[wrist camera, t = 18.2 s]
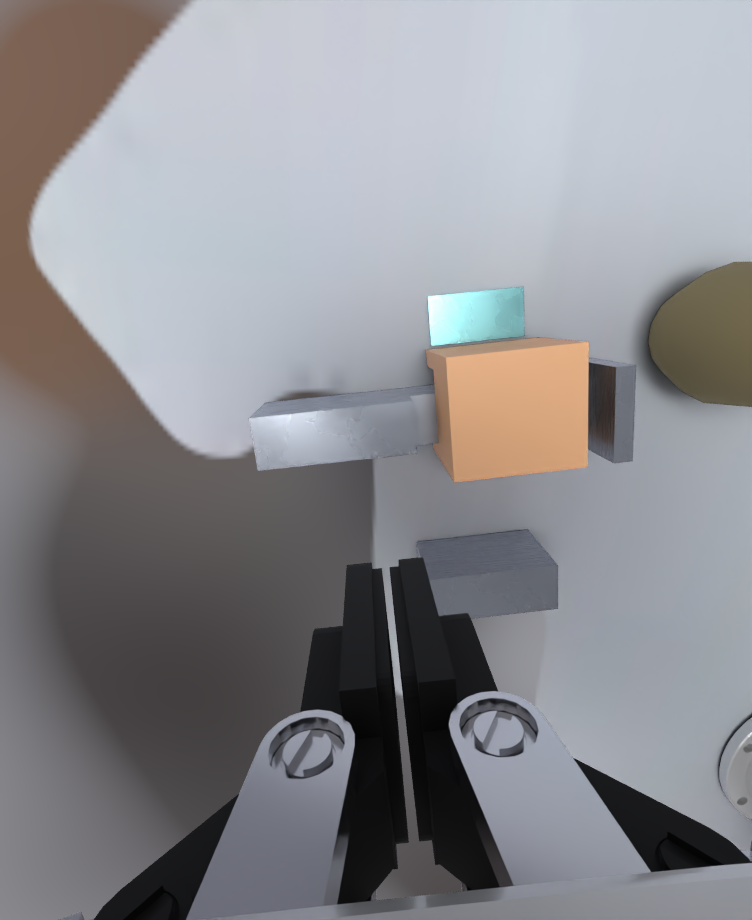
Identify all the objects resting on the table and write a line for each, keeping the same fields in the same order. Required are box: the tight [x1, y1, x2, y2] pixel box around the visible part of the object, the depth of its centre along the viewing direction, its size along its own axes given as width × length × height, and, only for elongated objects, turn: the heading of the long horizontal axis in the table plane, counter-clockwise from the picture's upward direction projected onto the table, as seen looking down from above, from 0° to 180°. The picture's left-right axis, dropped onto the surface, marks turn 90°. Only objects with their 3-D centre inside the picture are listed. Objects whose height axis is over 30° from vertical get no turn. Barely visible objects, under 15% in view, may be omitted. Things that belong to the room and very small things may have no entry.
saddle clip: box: [426, 337, 589, 483], centre depth 29 cm, size 6×7×7 cm
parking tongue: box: [416, 529, 558, 619], centre depth 34 cm, size 3×8×6 cm, turn 96°
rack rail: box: [249, 287, 636, 471], centre depth 29 cm, size 10×20×8 cm, turn 96°
